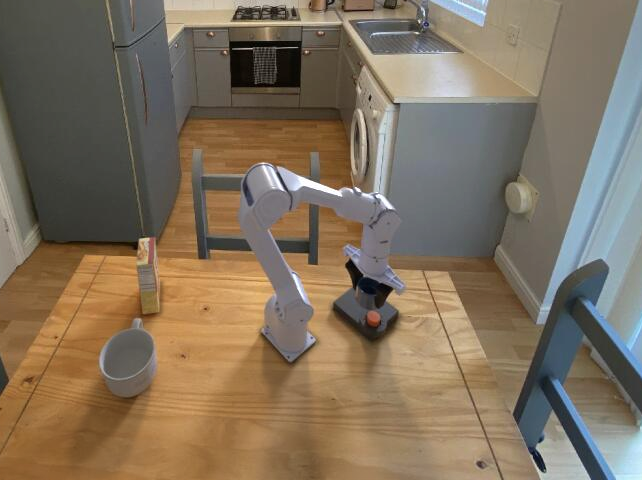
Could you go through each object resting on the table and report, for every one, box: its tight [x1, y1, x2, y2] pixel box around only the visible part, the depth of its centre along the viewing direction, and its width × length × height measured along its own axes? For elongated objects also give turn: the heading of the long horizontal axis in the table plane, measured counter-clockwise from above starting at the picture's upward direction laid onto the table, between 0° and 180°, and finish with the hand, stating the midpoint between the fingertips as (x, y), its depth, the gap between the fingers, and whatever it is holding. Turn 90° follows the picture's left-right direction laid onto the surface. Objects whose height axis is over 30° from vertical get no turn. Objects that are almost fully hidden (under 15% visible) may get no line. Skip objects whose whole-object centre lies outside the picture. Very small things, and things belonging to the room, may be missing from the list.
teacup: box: [98, 317, 158, 398], centre depth 85 cm, size 14×11×8 cm
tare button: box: [367, 311, 380, 327], centre depth 92 cm, size 3×3×2 cm
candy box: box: [135, 236, 161, 315], centre depth 100 cm, size 9×4×15 cm, turn 9°
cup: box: [355, 276, 381, 310], centre depth 92 cm, size 5×6×4 cm
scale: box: [332, 286, 400, 342], centre depth 97 cm, size 12×11×4 cm
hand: (368, 296), depth 92 cm, fingers closed on cup, 5 cm apart
